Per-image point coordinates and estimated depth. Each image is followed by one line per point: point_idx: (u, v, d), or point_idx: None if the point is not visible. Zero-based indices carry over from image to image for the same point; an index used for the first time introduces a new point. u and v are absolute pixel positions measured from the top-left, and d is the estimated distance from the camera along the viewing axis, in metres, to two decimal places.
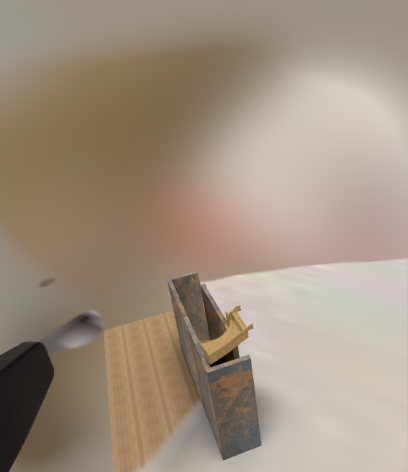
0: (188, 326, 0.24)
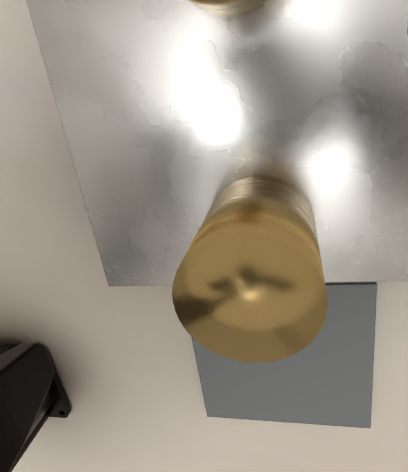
0: None
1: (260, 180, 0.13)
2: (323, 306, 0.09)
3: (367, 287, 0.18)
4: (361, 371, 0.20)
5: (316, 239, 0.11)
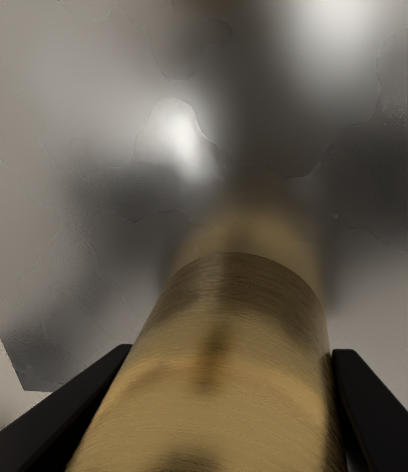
0: None
1: (235, 267, 0.07)
2: None
3: None
4: None
5: (335, 403, 0.06)
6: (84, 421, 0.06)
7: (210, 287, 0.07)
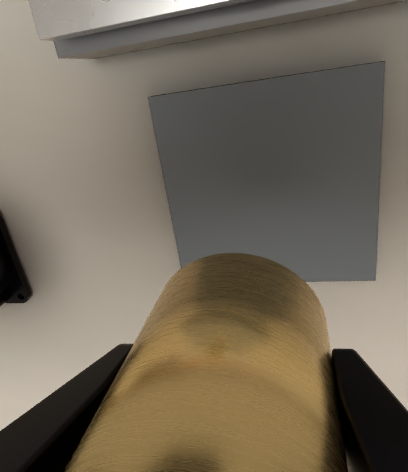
0: None
1: (235, 267, 0.07)
2: None
3: (373, 68, 0.15)
4: (365, 197, 0.17)
5: (335, 404, 0.06)
6: (85, 422, 0.06)
7: (210, 288, 0.07)
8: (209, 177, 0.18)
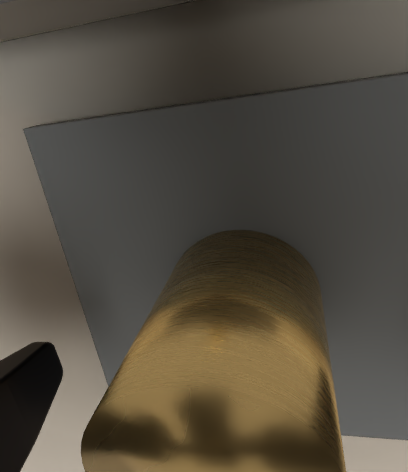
0: None
1: (241, 241, 0.08)
2: None
3: None
4: None
5: (326, 349, 0.07)
6: None
7: (220, 256, 0.08)
8: (144, 268, 0.10)
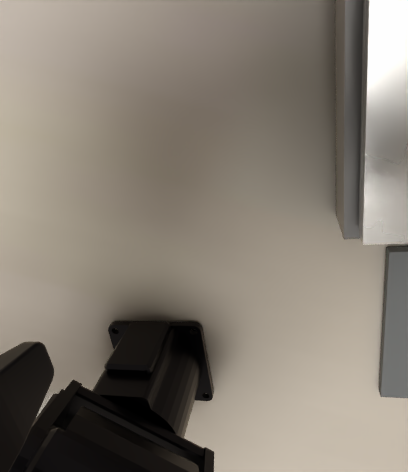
0: None
1: None
2: None
3: None
4: None
5: None
6: None
7: None
8: None
